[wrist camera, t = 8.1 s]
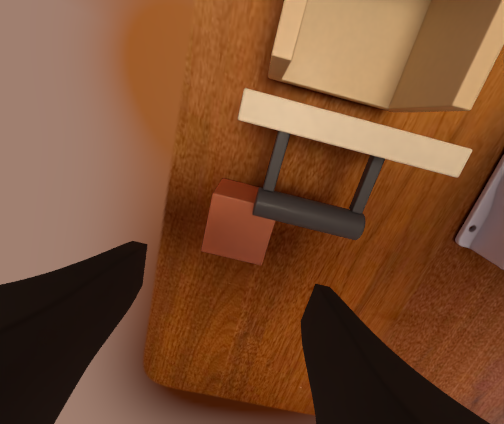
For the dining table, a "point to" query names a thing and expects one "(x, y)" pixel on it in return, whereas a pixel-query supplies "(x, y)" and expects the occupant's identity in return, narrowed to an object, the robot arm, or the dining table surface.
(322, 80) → the drawer
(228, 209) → the block
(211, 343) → the dining table surface
